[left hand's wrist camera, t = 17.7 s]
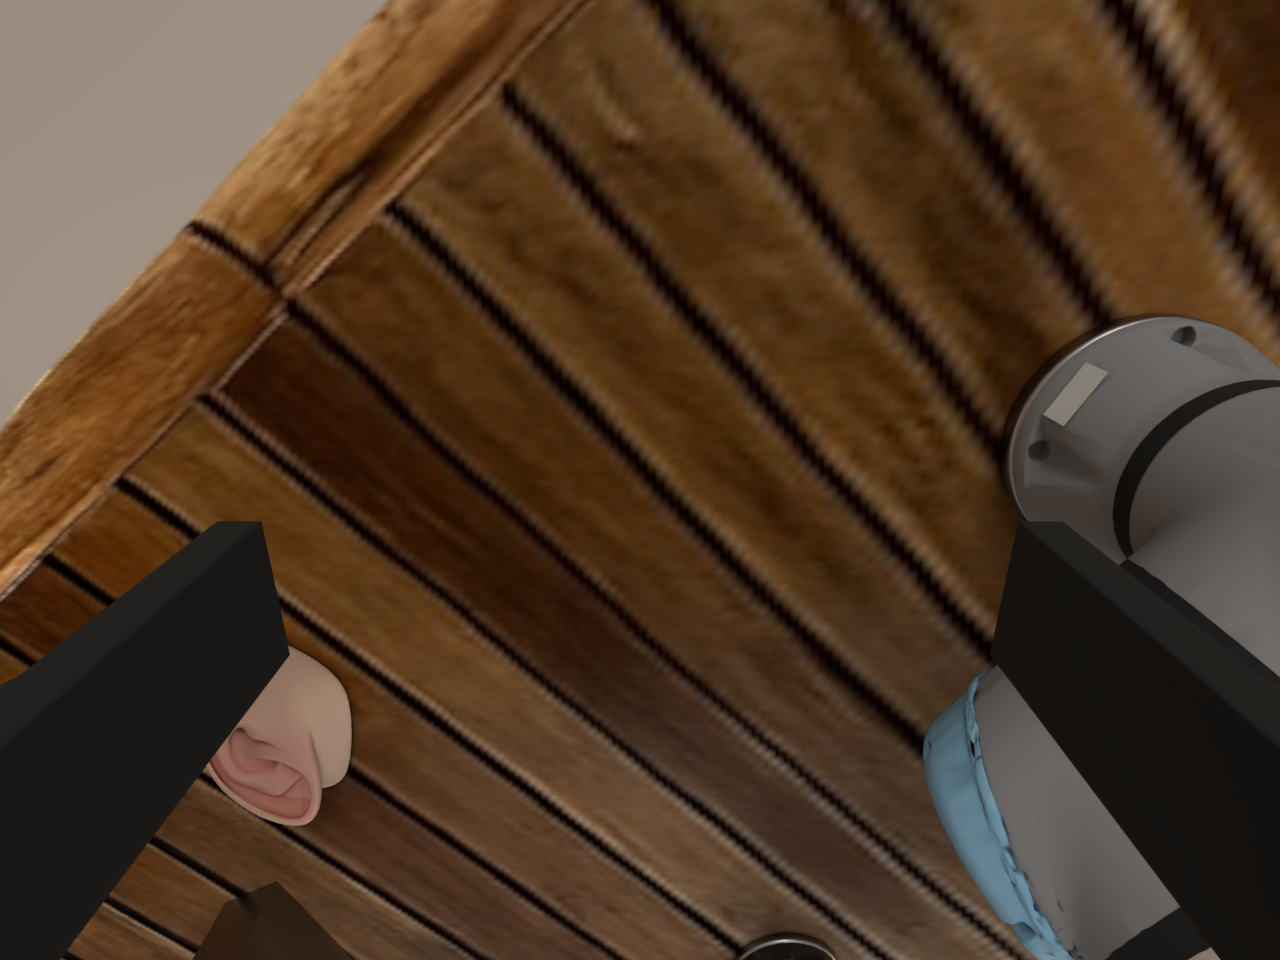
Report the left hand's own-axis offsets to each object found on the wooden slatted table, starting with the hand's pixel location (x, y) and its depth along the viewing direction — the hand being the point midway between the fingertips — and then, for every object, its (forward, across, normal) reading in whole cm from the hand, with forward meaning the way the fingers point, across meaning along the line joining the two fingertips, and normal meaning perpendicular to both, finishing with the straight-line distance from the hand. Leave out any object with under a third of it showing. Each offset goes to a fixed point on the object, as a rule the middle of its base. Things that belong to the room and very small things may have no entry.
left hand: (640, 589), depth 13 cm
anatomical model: (+32, -26, -29) cm, 50 cm away
